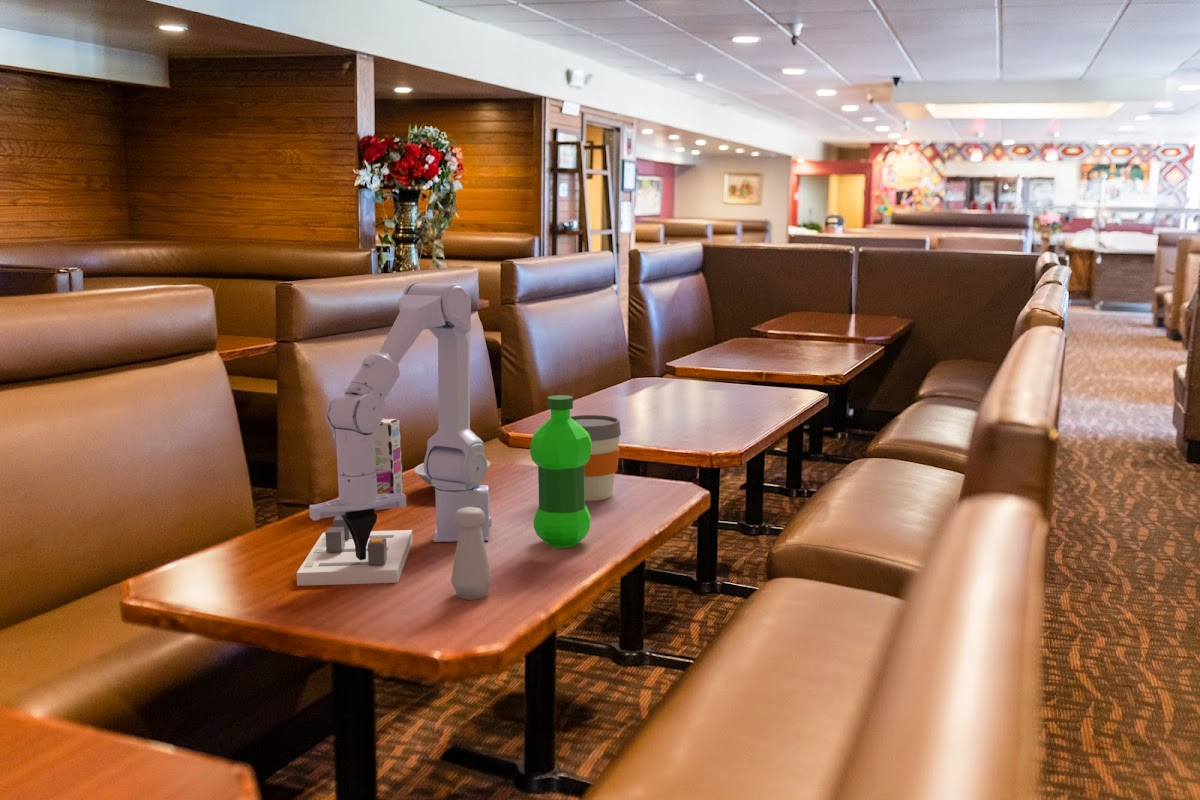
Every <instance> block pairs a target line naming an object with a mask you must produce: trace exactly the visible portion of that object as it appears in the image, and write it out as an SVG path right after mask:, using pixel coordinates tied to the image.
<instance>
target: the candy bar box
mask: <svg viewBox="0 0 1200 800" xmlns="http://www.w3.org/2000/svg"><path fill="white" fill-rule="evenodd" d="M374 434H375V456H376V478H377V494H392V493H403V494H404V481H403V465H402V464H403V462H402V461H403V458H402V440H401V439H402V437H401V419H400V418H384V417H382V421H381V424H380V425H379V426H378V428H377V429H376V430H375V431H374Z"/></svg>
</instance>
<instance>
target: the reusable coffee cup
mask: <svg viewBox="0 0 1200 800" xmlns="http://www.w3.org/2000/svg"><path fill="white" fill-rule="evenodd" d="M570 417H571V418H572V419H573V420H574V421H576V422H577V423H578V424H579V425H580V426H582V427H583V428H584V429H585V430H586V431H587V432H588V433H589V435H590V438H591V446H592V448H591V454H590V459H589V461H588V462H587V463H586V464H585V465H584V482H585V502H594V501H603V500H606V499H607V500H608V499H609V498H611V497H612V496H613V490H614V483H615V473H616V472H617V471H618V466H619V459H620V449H621V448H620V447H619V442H620V441H619V440H620V436H621V435H622V431H621V423H620V419H619V418H617V417H614V416H610V415H609V416H608V415H602V414H601V415H600V414H599V415H598V414H583V415H582V414H581V415H580V414H579V415H570Z"/></svg>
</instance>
